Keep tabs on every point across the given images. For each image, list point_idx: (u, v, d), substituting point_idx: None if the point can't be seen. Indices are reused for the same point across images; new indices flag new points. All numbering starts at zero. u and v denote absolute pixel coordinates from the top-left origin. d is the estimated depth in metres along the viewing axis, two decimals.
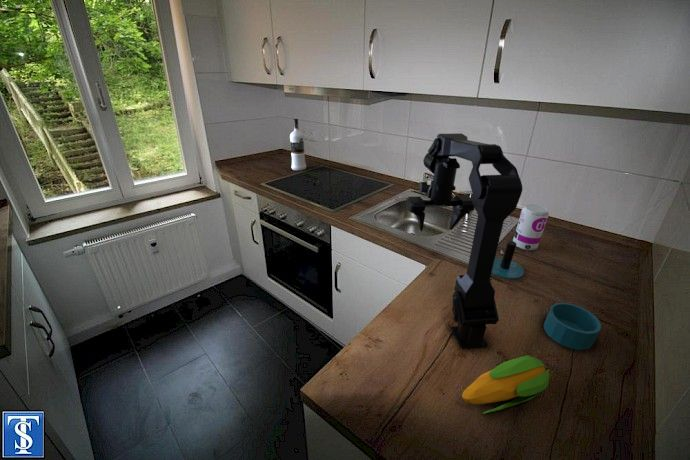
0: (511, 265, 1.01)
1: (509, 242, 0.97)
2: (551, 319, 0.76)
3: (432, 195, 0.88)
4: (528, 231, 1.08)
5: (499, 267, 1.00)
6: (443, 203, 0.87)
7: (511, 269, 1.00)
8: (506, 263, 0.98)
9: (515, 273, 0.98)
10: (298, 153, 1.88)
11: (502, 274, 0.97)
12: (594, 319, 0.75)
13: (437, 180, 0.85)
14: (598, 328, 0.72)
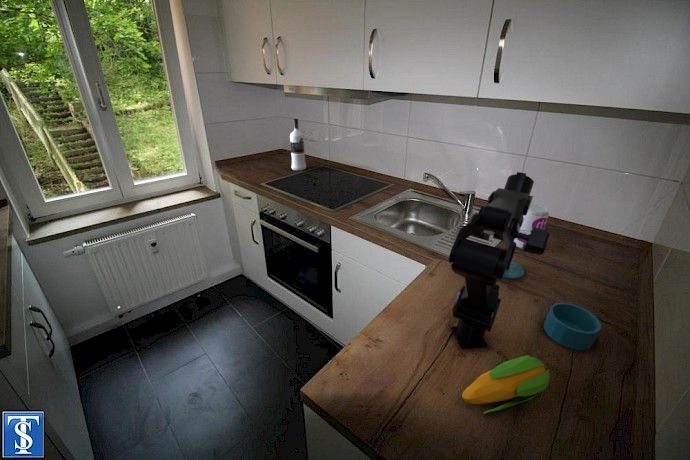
0: (511, 265, 1.01)
1: None
2: (551, 319, 0.76)
3: None
4: None
5: None
6: None
7: (511, 269, 1.00)
8: None
9: (515, 273, 0.98)
10: (298, 153, 1.88)
11: None
12: (594, 319, 0.75)
13: None
14: (598, 328, 0.72)
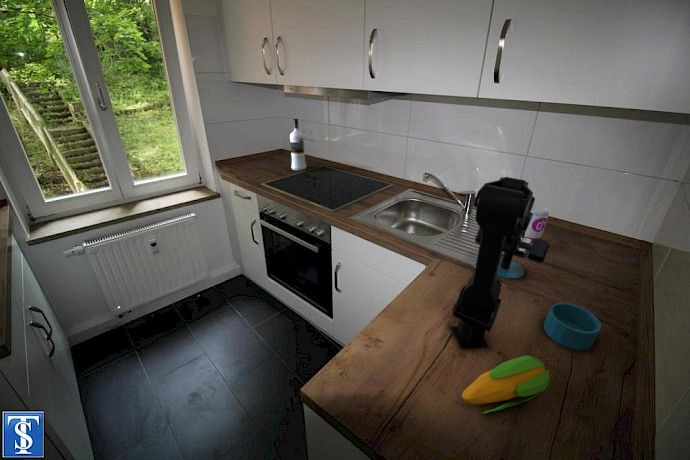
0: (511, 265, 1.01)
1: None
2: (551, 319, 0.76)
3: None
4: (528, 231, 1.08)
5: (499, 267, 1.00)
6: (506, 249, 0.90)
7: (511, 269, 1.00)
8: (506, 263, 0.98)
9: (515, 273, 0.98)
10: (298, 153, 1.88)
11: (502, 274, 0.97)
12: (594, 319, 0.75)
13: None
14: (598, 328, 0.72)
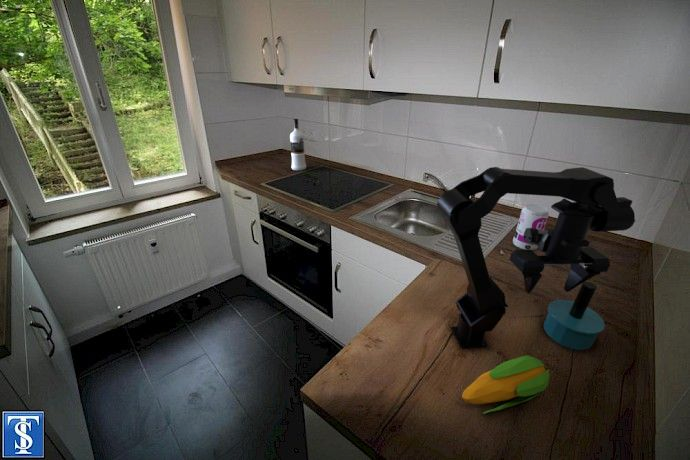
0: (589, 319, 0.73)
1: (586, 283, 0.71)
2: (551, 319, 0.76)
3: (551, 250, 0.66)
4: None
5: (567, 311, 0.76)
6: (568, 262, 0.64)
7: (582, 321, 0.73)
8: (574, 309, 0.73)
9: (579, 326, 0.71)
10: (298, 153, 1.88)
11: (558, 317, 0.74)
12: None
13: None
14: None
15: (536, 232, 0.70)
